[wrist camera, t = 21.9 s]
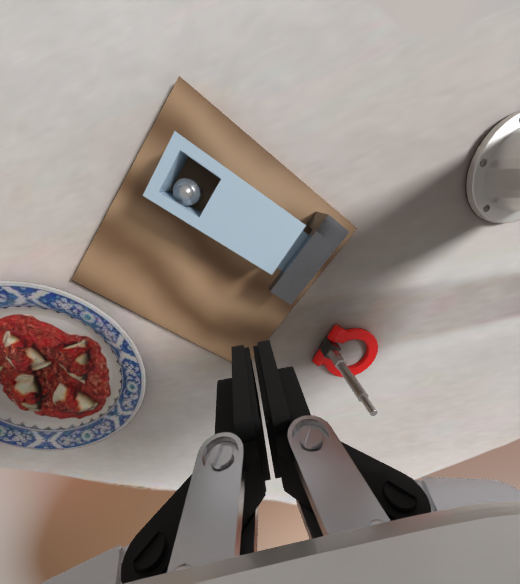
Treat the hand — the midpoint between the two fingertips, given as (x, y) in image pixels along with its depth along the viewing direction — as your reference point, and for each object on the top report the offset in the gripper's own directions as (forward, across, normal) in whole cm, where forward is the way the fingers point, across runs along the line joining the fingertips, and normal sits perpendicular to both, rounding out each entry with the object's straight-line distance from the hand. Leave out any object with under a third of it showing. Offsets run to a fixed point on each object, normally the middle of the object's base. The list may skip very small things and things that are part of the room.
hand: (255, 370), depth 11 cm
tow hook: (+22, -14, +17) cm, 32 cm away
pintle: (+22, +4, -8) cm, 24 cm away
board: (+22, +2, -1) cm, 22 cm away
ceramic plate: (+23, +27, +11) cm, 37 cm away
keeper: (+21, -7, +1) cm, 22 cm away
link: (+21, -1, -4) cm, 22 cm away
